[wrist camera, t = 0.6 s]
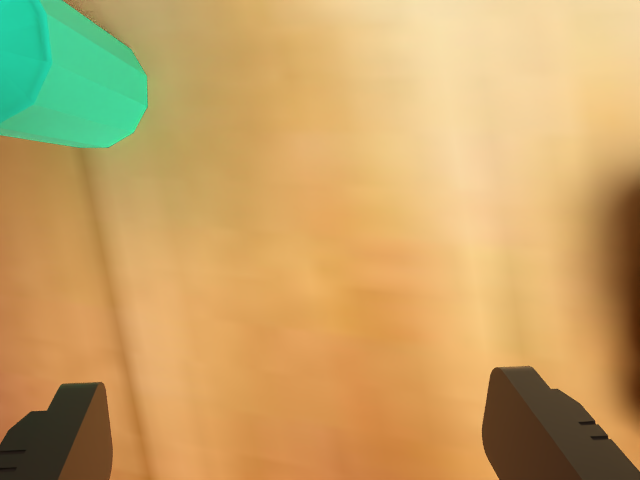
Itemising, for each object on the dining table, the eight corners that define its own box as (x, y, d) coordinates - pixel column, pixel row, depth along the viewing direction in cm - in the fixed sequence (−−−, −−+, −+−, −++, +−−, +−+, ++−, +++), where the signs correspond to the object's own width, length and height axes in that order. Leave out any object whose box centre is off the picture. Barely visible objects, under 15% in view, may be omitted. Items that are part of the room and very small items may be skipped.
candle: (130, 18, 29) (-5, -100, 17) (163, 132, 30) (54, 96, 18) (19, 49, 29) (-192, -46, 17) (53, 162, 30) (-127, 146, 18)
